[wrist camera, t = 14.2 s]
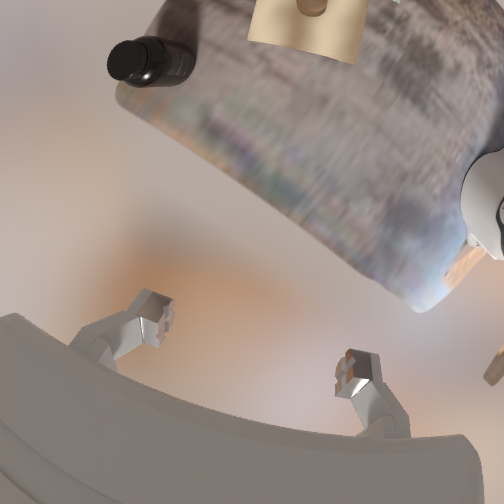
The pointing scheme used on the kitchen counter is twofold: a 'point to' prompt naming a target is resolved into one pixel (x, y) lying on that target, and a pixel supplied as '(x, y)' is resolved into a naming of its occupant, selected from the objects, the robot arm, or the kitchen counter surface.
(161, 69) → the supplement bottle
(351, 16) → the oak lid
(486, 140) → the kitchen counter surface
